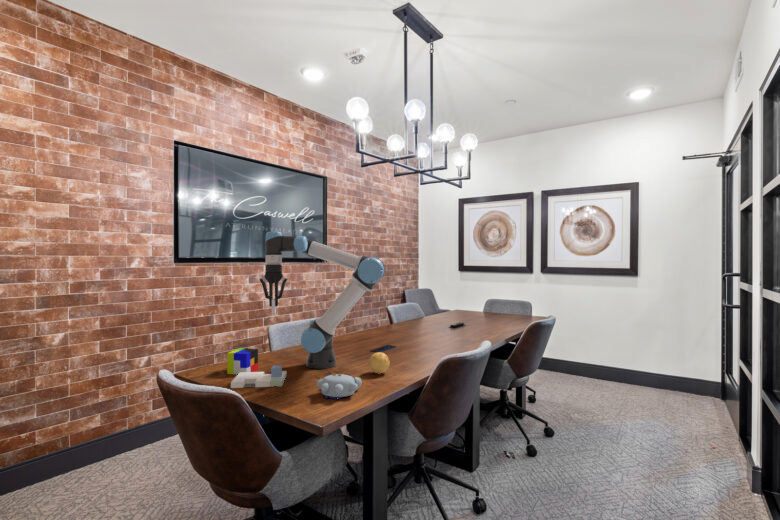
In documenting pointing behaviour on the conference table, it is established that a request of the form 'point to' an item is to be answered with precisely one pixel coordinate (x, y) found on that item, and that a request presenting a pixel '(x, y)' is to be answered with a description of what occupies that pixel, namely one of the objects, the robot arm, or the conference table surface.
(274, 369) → the block
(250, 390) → the conference table surface
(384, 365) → the stress ball
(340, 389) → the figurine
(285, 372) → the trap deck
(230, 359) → the puzzle toy
